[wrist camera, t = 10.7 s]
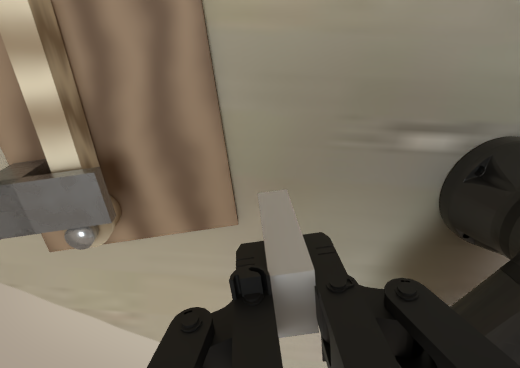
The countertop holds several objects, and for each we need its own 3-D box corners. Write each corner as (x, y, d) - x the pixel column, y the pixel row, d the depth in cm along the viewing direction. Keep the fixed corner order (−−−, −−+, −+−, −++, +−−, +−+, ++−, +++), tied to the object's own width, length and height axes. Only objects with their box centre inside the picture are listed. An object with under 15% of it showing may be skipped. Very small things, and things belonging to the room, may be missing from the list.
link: (125, 226, 40) (115, 244, 36) (84, 230, 40) (69, 249, 36) (61, -2, 30) (38, -8, 26) (5, 2, 30) (-26, -3, 26)
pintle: (94, 216, 34) (88, 224, 33) (102, 238, 36) (97, 247, 34) (67, 220, 34) (60, 228, 33) (76, 242, 35) (70, 251, 34)
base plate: (192, -54, 30) (191, -57, 30) (237, 220, 43) (238, 224, 42) (-71, -24, 30) (-81, -26, 29) (53, 247, 42) (49, 252, 41)
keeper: (117, 149, 37) (93, 172, 30) (130, 192, 39) (111, 223, 32) (13, 163, 36) (-33, 190, 30) (33, 206, 38) (-6, 239, 32)
